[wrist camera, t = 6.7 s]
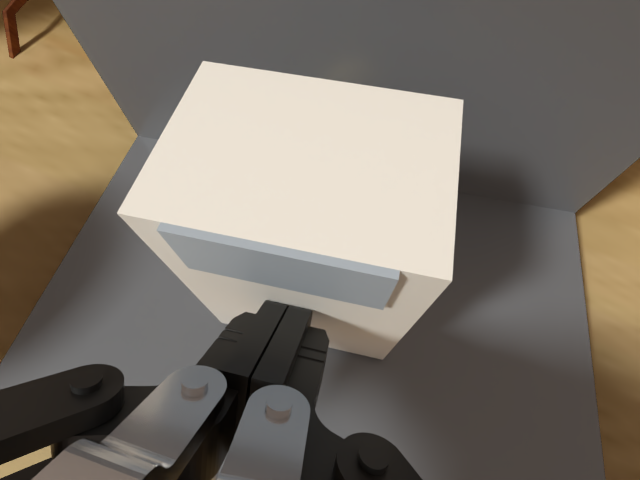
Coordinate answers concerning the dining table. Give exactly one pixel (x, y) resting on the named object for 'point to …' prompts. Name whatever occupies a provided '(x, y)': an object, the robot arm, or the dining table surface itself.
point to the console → (471, 217)
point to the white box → (305, 200)
